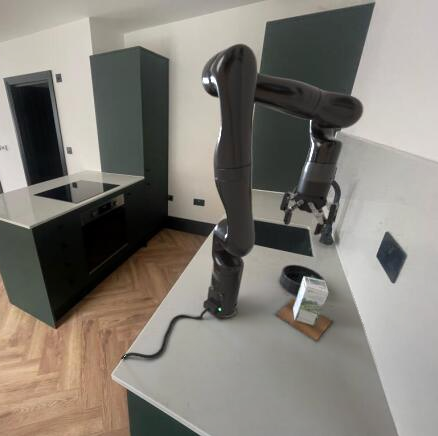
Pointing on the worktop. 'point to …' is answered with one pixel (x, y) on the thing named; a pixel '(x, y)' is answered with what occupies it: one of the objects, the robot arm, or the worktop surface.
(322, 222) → the robot arm
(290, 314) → the coaster
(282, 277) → the bowl
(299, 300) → the syrup box
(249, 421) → the worktop surface
